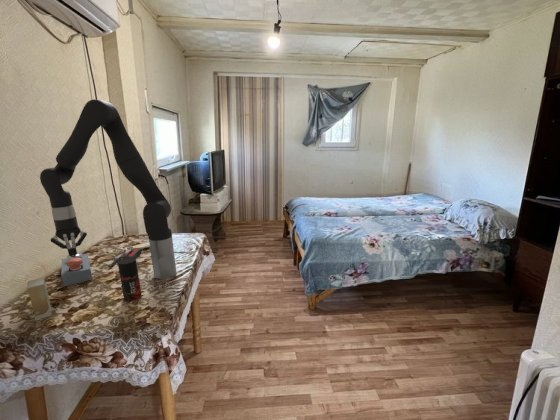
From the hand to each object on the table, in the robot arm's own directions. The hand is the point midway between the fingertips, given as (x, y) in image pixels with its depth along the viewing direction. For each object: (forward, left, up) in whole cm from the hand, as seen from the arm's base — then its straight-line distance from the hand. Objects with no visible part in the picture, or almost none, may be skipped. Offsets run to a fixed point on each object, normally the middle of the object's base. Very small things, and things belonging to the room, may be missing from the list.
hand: (73, 256), depth 124 cm
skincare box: (-24, +11, -11) cm, 28 cm away
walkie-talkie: (+10, -20, -11) cm, 25 cm away
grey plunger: (+11, 0, -10) cm, 15 cm away
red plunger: (0, 0, -9) cm, 9 cm away
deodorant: (-31, -16, -11) cm, 37 cm away
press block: (+6, 0, -11) cm, 12 cm away
